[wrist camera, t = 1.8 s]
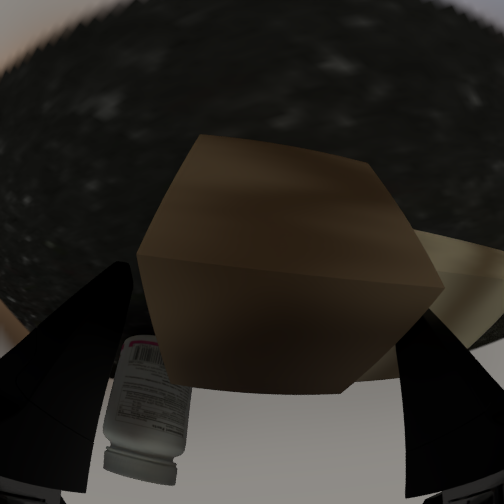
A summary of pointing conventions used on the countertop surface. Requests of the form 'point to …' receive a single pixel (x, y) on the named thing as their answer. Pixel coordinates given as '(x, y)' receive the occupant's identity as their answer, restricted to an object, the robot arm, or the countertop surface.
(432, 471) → the robot arm
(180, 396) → the pill bottle
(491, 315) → the maple block
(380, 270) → the walnut cube
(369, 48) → the countertop surface
